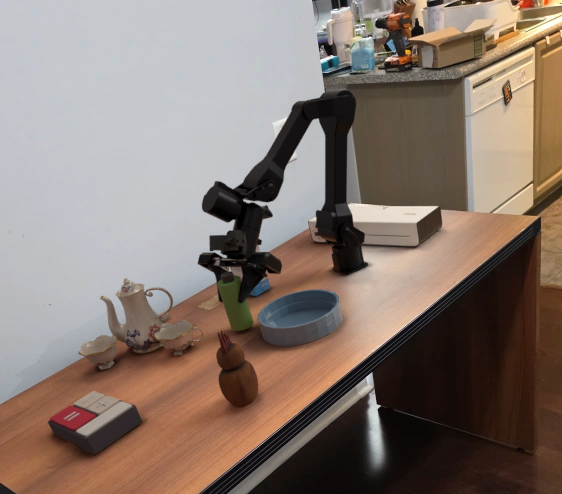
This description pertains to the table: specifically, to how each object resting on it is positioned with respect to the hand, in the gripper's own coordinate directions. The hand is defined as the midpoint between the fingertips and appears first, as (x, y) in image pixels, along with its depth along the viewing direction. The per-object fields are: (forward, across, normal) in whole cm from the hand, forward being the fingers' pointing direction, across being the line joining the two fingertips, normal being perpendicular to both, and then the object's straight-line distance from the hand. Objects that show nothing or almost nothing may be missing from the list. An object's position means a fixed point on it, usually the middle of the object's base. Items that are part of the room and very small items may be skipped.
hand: (230, 302), depth 136 cm
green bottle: (+4, 0, +5) cm, 6 cm away
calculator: (+31, -7, -20) cm, 38 cm away
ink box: (-9, -12, +20) cm, 25 cm away
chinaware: (+13, -19, -1) cm, 23 cm away
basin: (+2, +13, +9) cm, 16 cm away
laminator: (-32, +6, +44) cm, 54 cm away
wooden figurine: (+21, +17, -10) cm, 29 cm away
